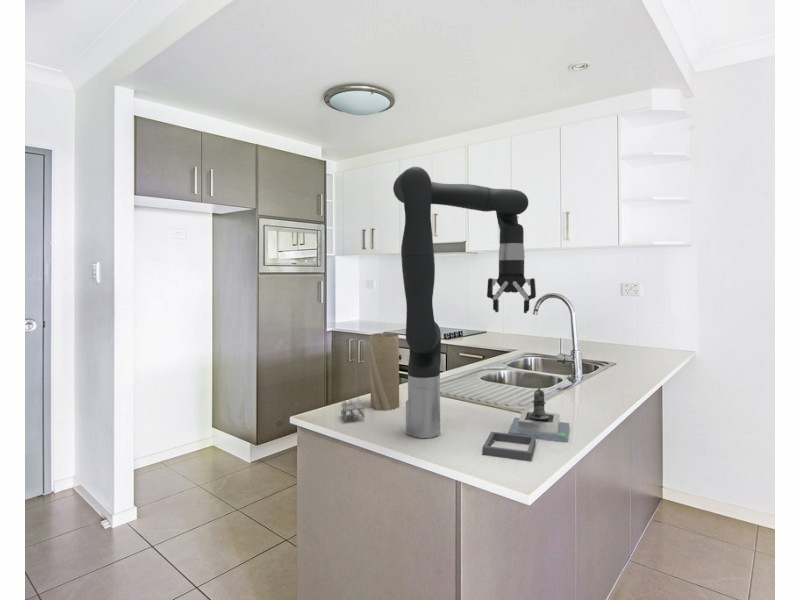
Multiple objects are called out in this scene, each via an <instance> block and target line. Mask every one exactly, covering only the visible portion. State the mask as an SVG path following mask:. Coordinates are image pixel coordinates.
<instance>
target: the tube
mask: <svg viewBox="0 0 800 600" xmlns="http://www.w3.org/2000/svg"><path fill="white" fill-rule="evenodd" d="M399 348H400V344H399V334H398V333H394V332H393V333H392V332H378V333H371V334H369V371H370V372H369V376H370V378H369V379H370V380H369V381H370V383H369V385H370V408H371V409H372V410H377V411H392V409H393V410H396V408H397V409H399V407H400V359H399V358H400V357H399V356H400V353H399Z"/></svg>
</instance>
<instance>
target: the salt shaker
mask: <svg viewBox="0 0 800 600" xmlns="http://www.w3.org/2000/svg"><path fill="white" fill-rule="evenodd" d="M537 388H538V389H536V390H535V391H534V393H533V401H532V404H533V409H532V410H533V412H532V413H530V414H529V417H530V420H531V421H540V422H548V418H549V417H550V416H549V415H548V414H546V413H547V412H546V411H545V404H546V402H545V391H544V390H542V389H541V387H540V386H539V387H537Z"/></svg>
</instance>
